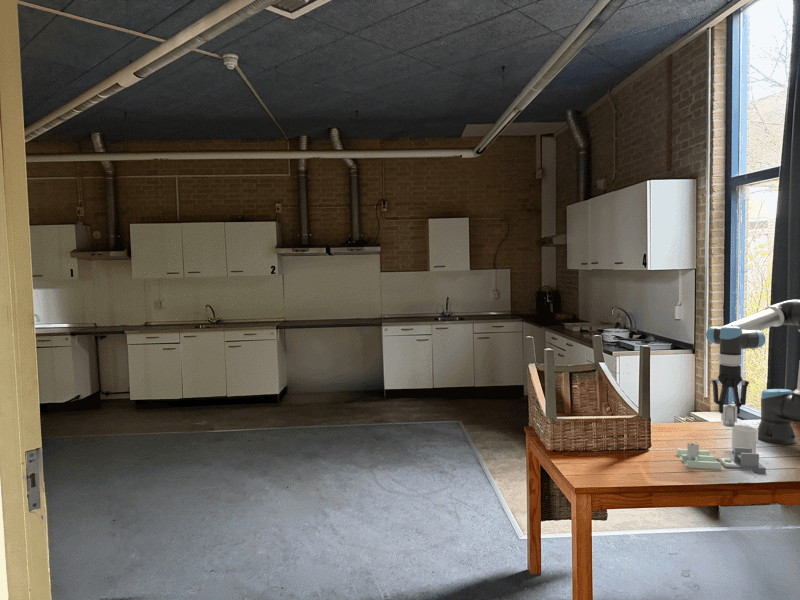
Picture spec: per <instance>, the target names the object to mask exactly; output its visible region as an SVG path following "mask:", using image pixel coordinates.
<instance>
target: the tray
mask: <svg viewBox="0 0 800 600" xmlns="http://www.w3.org/2000/svg"><path fill="white" fill-rule="evenodd" d="M676 455H677V456H678V458H679V459H680V460H681V461H682V462H683V464H684V465H685V466H686V467H687V468H691V469H692V468H693V469H707V470H708V469H710V470H722V464H721V462H719V461H716V456H714V455H710V451H709V450H708V449H699V461H692V460H687V448H677V449H676Z"/></svg>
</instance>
